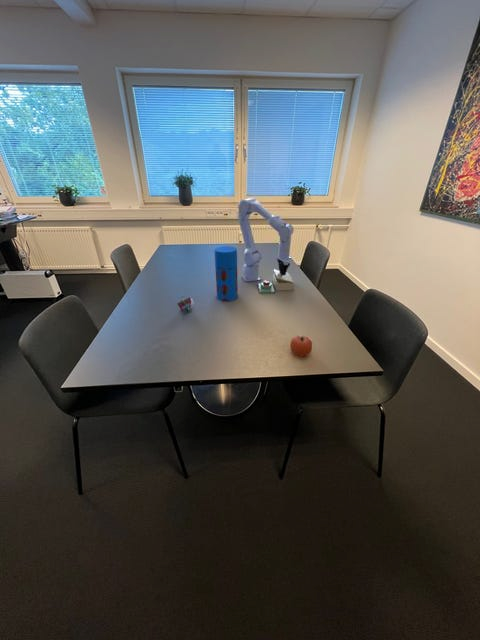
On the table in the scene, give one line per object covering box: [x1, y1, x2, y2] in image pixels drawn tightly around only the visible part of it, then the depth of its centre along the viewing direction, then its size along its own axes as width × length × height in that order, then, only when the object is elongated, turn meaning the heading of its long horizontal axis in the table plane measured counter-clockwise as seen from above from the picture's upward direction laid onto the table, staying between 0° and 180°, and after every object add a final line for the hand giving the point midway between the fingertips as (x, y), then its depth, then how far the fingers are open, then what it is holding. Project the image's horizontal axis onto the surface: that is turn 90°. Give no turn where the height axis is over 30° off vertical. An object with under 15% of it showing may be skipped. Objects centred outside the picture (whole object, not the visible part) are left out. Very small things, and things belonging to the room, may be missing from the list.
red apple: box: [289, 335, 313, 357], centre depth 93 cm, size 8×8×7 cm
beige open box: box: [272, 274, 295, 291], centre depth 146 cm, size 9×13×4 cm
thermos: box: [214, 245, 239, 302], centre depth 129 cm, size 11×11×25 cm
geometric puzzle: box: [177, 296, 195, 312], centre depth 121 cm, size 7×7×8 cm
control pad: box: [257, 281, 276, 294], centre depth 143 cm, size 8×11×3 cm
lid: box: [273, 268, 295, 284], centre depth 143 cm, size 10×13×4 cm
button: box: [262, 279, 270, 285], centre depth 142 cm, size 3×3×2 cm
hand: (282, 273), depth 143 cm, fingers closed on lid, 5 cm apart
